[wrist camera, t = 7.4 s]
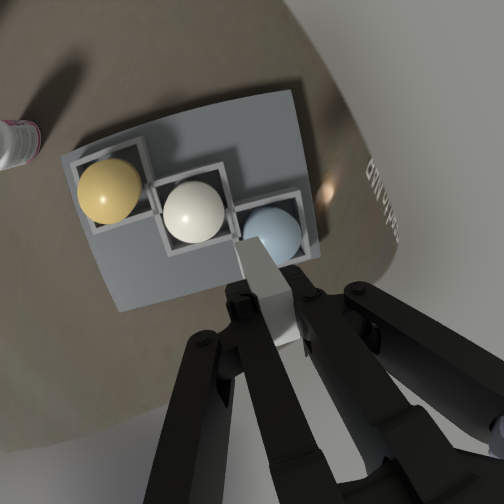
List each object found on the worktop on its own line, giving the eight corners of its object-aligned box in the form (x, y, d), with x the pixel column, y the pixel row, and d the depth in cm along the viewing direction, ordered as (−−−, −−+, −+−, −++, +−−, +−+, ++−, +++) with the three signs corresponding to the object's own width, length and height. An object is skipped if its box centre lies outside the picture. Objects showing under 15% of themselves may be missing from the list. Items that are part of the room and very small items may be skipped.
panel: (69, 154, 25) (52, 158, 21) (283, 92, 27) (297, 86, 23) (123, 301, 32) (116, 322, 28) (312, 248, 33) (327, 263, 30)
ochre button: (80, 169, 22) (69, 173, 20) (132, 149, 22) (126, 151, 20) (97, 223, 24) (89, 231, 22) (149, 206, 24) (144, 213, 22)
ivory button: (159, 188, 25) (155, 193, 23) (214, 172, 26) (216, 176, 23) (175, 240, 27) (173, 249, 25) (227, 225, 28) (230, 233, 25)
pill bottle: (40, 114, 22) (-4, 112, 15) (44, 158, 24) (0, 169, 17) (7, 127, 22) (-40, 130, 14) (11, 168, 24) (-34, 183, 16)
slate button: (235, 212, 27) (239, 219, 25) (288, 198, 28) (296, 204, 26) (248, 261, 29) (252, 272, 27) (297, 247, 30) (305, 256, 28)
